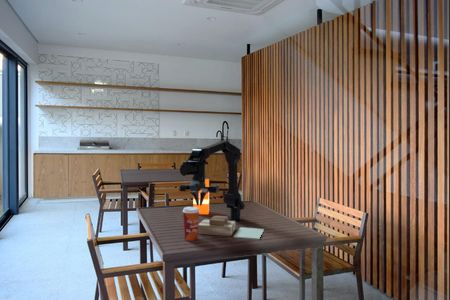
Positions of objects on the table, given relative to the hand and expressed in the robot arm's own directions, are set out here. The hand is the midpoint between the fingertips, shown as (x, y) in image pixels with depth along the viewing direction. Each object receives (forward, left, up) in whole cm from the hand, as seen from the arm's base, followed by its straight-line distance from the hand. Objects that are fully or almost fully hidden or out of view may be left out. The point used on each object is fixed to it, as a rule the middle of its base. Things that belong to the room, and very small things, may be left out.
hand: (199, 205), depth 179 cm
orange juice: (-36, -10, -12) cm, 39 cm away
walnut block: (0, +10, -8) cm, 13 cm away
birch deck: (0, +9, -12) cm, 15 cm away
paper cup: (+15, +1, -12) cm, 19 cm away
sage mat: (0, +25, -12) cm, 28 cm away
